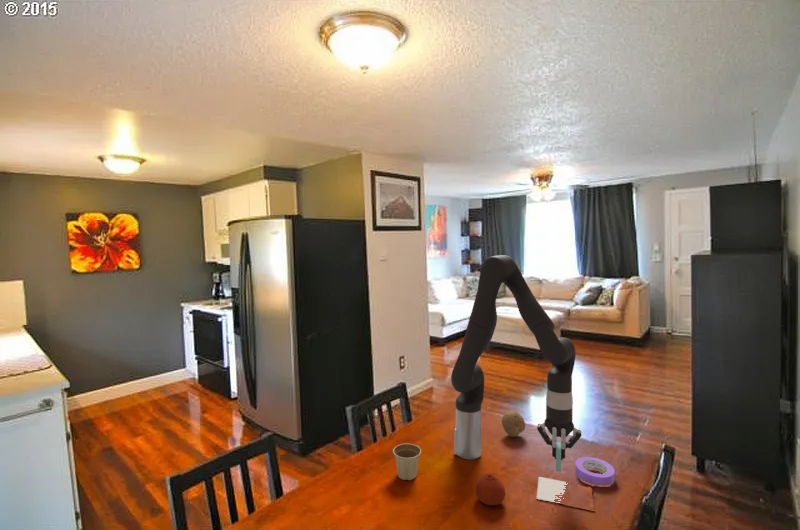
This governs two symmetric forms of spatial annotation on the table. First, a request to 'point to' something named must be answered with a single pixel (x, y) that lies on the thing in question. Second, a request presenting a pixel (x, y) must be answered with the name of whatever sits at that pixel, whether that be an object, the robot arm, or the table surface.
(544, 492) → the mat
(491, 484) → the fruit
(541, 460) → the table surface
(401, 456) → the flower pot
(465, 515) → the table surface
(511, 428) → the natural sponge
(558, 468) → the tile
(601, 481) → the masking tape
